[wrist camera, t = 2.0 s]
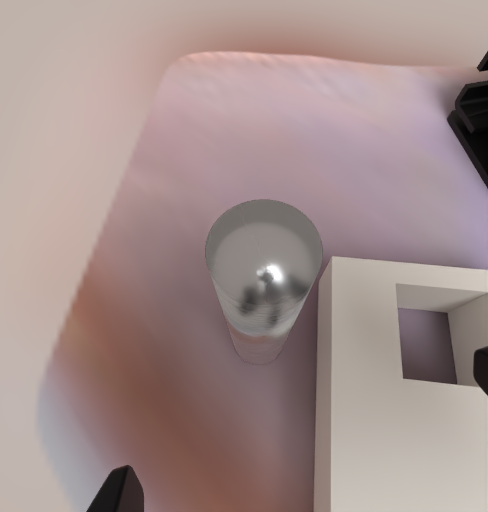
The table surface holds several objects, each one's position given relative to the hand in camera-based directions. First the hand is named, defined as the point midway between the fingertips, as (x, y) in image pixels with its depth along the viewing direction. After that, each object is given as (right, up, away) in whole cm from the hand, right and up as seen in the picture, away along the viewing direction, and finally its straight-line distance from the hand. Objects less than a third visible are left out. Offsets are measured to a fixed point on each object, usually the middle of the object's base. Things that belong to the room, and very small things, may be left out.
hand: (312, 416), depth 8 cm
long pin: (-1, -1, +12) cm, 12 cm away
